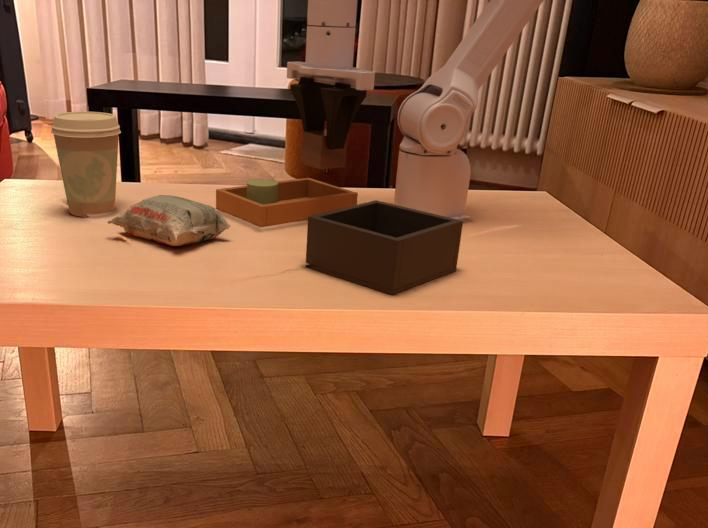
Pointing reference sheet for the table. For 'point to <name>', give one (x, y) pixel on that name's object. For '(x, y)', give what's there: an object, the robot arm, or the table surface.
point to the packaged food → (171, 220)
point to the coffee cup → (87, 160)
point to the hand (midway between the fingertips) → (324, 145)
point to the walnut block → (321, 151)
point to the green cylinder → (262, 191)
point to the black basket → (383, 245)
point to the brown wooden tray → (286, 202)
